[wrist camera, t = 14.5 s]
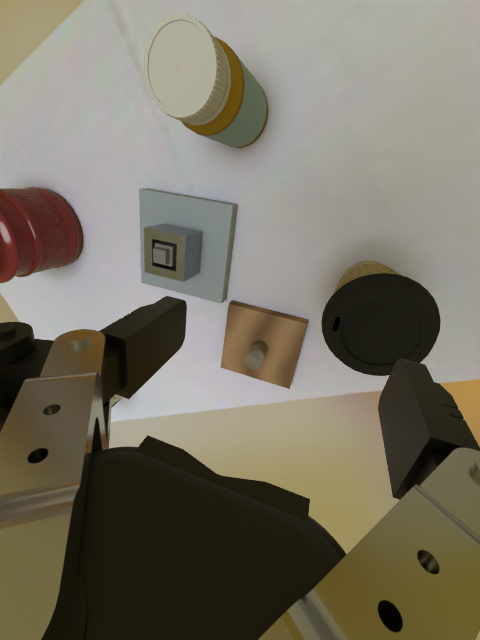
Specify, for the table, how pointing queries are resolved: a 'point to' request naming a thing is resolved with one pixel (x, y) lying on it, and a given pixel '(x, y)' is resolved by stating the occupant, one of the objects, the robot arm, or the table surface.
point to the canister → (36, 232)
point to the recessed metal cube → (186, 251)
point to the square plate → (215, 240)
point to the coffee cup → (379, 319)
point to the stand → (262, 343)
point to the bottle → (203, 82)
